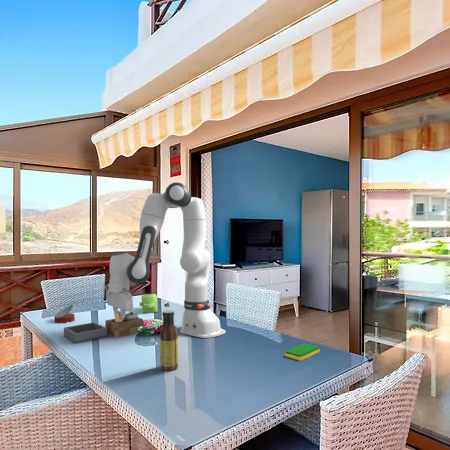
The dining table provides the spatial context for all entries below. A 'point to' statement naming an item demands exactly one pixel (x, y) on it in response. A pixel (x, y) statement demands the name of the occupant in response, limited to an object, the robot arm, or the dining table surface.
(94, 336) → the pin tray
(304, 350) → the dish sponge
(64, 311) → the canned food
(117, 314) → the pin
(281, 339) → the dining table surface
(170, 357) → the sauce bottle
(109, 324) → the brown wooden box
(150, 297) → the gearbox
